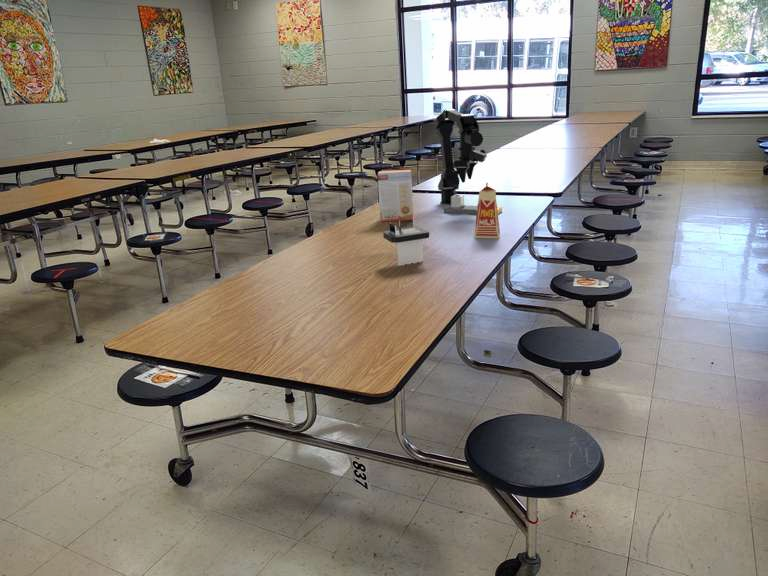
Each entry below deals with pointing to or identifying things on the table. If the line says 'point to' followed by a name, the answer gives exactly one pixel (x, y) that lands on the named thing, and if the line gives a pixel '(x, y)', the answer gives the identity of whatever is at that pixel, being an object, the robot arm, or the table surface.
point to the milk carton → (487, 215)
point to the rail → (465, 209)
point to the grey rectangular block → (457, 201)
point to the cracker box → (395, 195)
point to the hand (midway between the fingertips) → (466, 180)
